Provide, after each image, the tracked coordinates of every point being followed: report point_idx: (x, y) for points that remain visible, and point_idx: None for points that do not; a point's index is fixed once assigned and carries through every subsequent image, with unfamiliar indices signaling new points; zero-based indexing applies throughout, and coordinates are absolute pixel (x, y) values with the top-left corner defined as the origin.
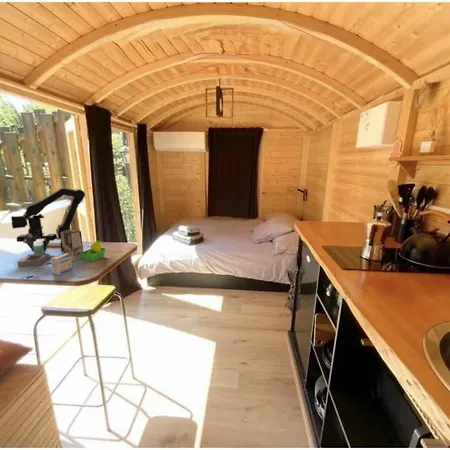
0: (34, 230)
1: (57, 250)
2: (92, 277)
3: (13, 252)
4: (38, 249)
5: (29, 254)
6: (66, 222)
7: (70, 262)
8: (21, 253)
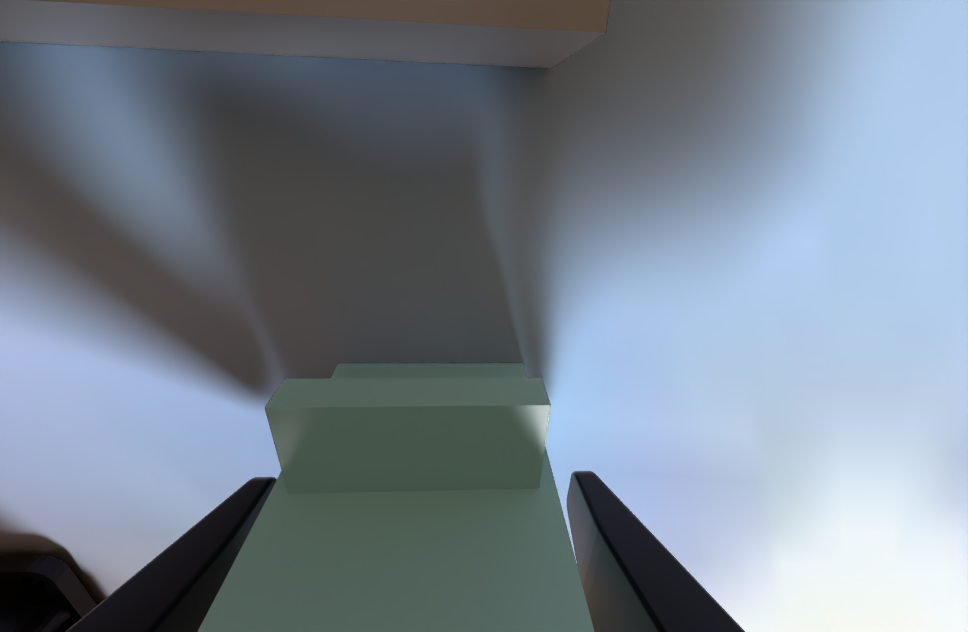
0: None
1: None
2: None
3: (943, 535)
4: (367, 501)
5: (561, 17)
6: None
7: None
8: (815, 484)
